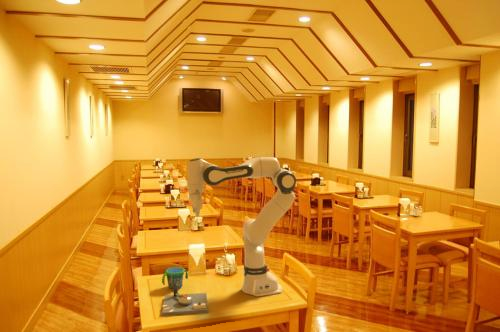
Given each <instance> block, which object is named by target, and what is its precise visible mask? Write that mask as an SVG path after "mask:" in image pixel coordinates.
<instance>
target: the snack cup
mask: <svg viewBox="0 0 500 332" xmlns="http://www.w3.org/2000/svg"><path fill="white" fill-rule="evenodd" d="M165 277H166V280H167V285H168V286H167V287H168V288H169V289H170V290H173V284H175V283H177V284H178V290H179V289H181V288H182V287H183V281H184V278H185V279H186V280H188V279H189V273H188V271H187V269H185V268H184V267H180V266H179V267H178V266H173V267H169V268H167V269H166V270H165V272H164V273H163V275H162V278H161V282H162V283H161V284H162V285H163V286H165V285H166V283H165Z"/></svg>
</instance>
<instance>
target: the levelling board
mask: <svg viewBox="0 0 500 332" xmlns="http://www.w3.org/2000/svg"><path fill="white" fill-rule="evenodd" d="M179 294H180V293H179ZM183 294H184V295H185V293H183ZM187 294H188V295H191V296H192V304H190V305H186V306H183V305H179V300H178V298H179V297H178V296H174V294H165V295H164V298H163V305H161V307H162V311H161V313H162V314H161V315H162V317H165V316H166V317H167V316H168V317H169V316H178V315H179V316H180V315H181V316H182V315H194V314H195V315H196V314H208V313H209V308H208V307H209V305H208V296H207V292H202V293H200V292H199V293H187ZM180 295H181V294H180Z"/></svg>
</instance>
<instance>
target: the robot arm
mask: <svg viewBox="0 0 500 332" xmlns="http://www.w3.org/2000/svg"><path fill="white" fill-rule="evenodd" d="M186 170H187V172H186V175H187V183H186V184H187V190H186V192H187V193H188V197H189V203H190V204H191V207H192V212H193V213H195V217H200V211H201V210H202V209H203V196H202V193H205V184H207V185H209V186H218V185H220V184H221V183H223V182H225V181H229V180H234V179H242V178H243V179H244V178H245V179H246V178H247V179H259V178H265V177H267V178H270V181H271V183H272V185H273V186H274V187H276V188H277V190H276V192H275V194H274V195H273V196H272V197H271V199H269V200H268V201H267V203H266V204H265V205H264V206H263V207H262V208H261V209H260V212H259V214H258V215H257V216H256V217H255V218H247V219H246V220H245V221H244V223H243V225H242V236H243V247H244V248H243V250H244V264H243V283H242V287H241V291H242V292H243V293H245V294H248V295H251V296H254V297H262V296H270V295H277V294H281V293H282V292H283V287H282V285H281V284H280V283H279V282H278V278H277V277H276V276H275V275H274V274H273V273H272V272H270V271H271V269H270V267H269V266H268V264H266V263H265V248H264V243H265V242H267V239H268V236H269V235H270V234H271V231H273V228H274V227H275V225H276V224H277V223H278V222H279V220H281V218H282V217H284V215H285V214H286V213H287V212H288V210H289V209H290V208H291V207H292V205H293V204H294V202H295V201H296V194H295V192H294V191H295V187H296V183H297V178H296V176H295V174H294V173H293V172H292V171H290V170H288V169H284V168H281V165H280V162H279V160H278V158H276V157H273V156H258V157H252V158H249V159H246V160H245V161H244V162H243V163H242V164H240V165H237V166H229V167H220V166H218V165H217V164H213V163H210V162H208V161H206V160H204V159H203V158H201V157H199V158H198V157H197V158H193V159H189V160H188V163H187V168H186Z"/></svg>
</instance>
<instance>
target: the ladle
mask: <svg viewBox="0 0 500 332" xmlns="http://www.w3.org/2000/svg"><path fill="white" fill-rule="evenodd" d="M172 290H173V295H174V296H178V297H179V298H178V300H179V305H183V306H186V305H190V304H192V296H191V295H188V294H189V293H186V294H185V293H182V294H181V295H180V293H179V289H178V284H177V283H175V284H173V289H172ZM184 294H185V295H184Z"/></svg>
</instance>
